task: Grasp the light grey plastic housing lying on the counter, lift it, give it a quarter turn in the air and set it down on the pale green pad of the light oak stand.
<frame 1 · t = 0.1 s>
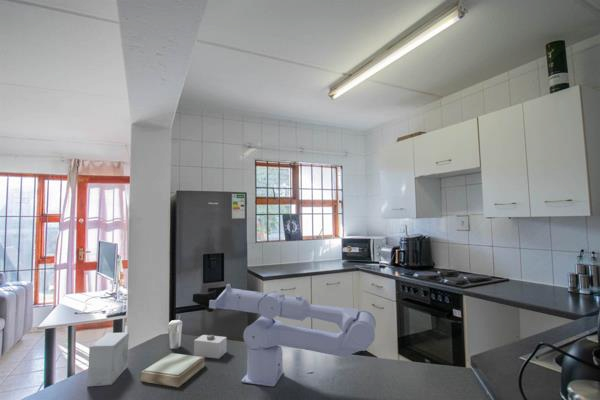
hand: (201, 294, 91), 22 cm above the countertop, tool horizontal, fingers open, 7 cm apart
skincare box: (109, 377, 85), on the countertop
housing: (210, 354, 99), on the countertop
stand: (174, 373, 87), on the countertop
milkshake: (175, 347, 105), on the countertop
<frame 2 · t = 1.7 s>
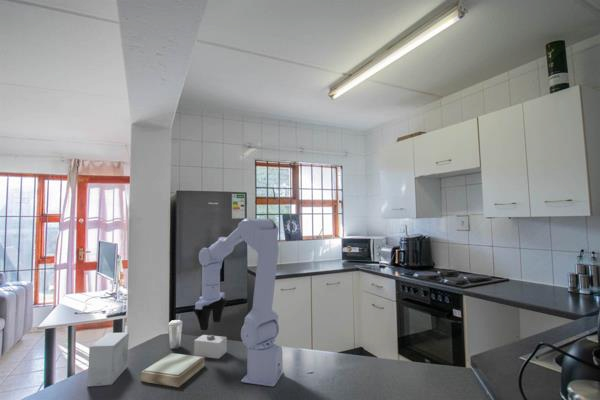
hand: (210, 325, 100), 9 cm above the countertop, tool pointing down, fingers open, 7 cm apart
nothing on the countertop moved.
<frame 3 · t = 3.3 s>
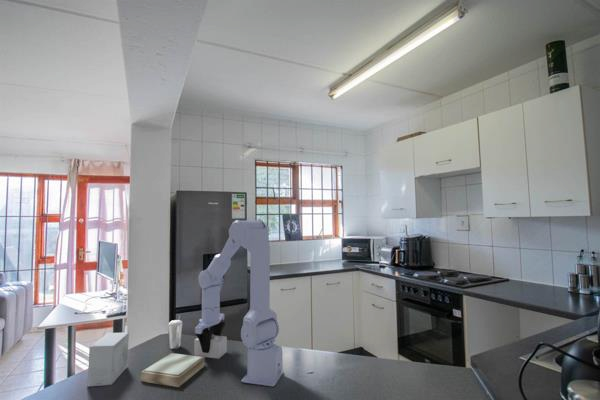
hand: (210, 348, 100), 2 cm above the countertop, tool pointing down, fingers closed on housing, 5 cm apart
housing: (210, 353, 99), on the countertop, touching gripper
everything else where it was.
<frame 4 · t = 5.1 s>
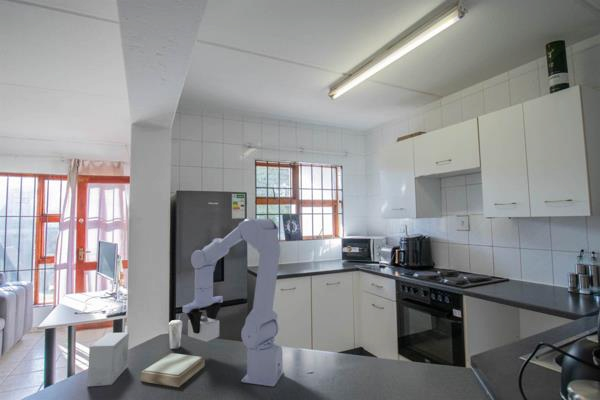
hand: (203, 330, 97), 9 cm above the countertop, tool pointing down, fingers closed on housing, 5 cm apart
housing: (203, 336, 97), point 7 cm above the countertop, touching gripper
everything else where it was.
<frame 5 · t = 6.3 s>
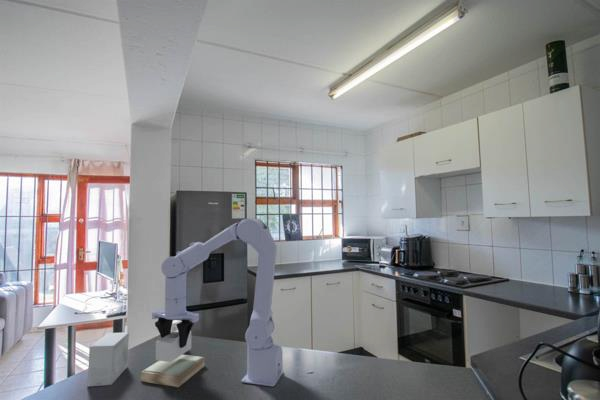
hand: (174, 345, 87), 8 cm above the countertop, tool pointing down, fingers closed on housing, 5 cm apart
housing: (174, 353, 87), point 5 cm above the countertop, touching gripper
everything else where it was.
when the fingers open (6 cm above the countertop, at t = 7.1 s): housing stays where it is, resting on stand.
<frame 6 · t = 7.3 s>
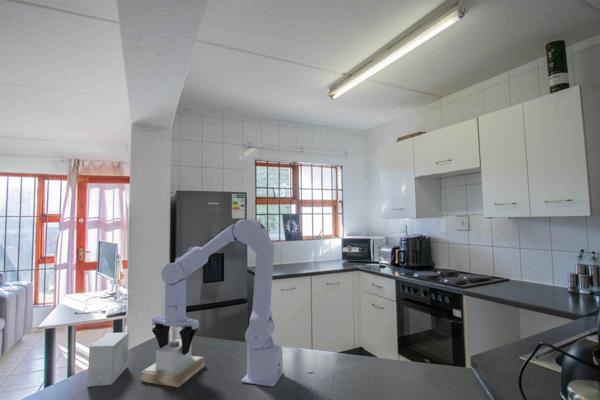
hand: (174, 352, 87), 6 cm above the countertop, tool pointing down, fingers open, 7 cm apart
housing: (174, 363, 87), point 3 cm above the countertop, touching stand
everything else where it was.
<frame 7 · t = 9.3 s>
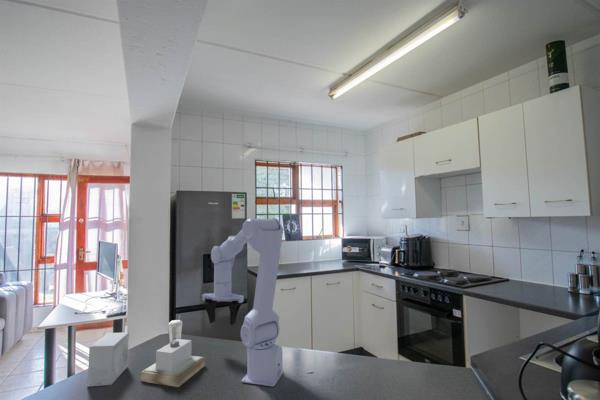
hand: (222, 323, 101), 9 cm above the countertop, tool pointing down, fingers open, 7 cm apart
nothing on the countertop moved.
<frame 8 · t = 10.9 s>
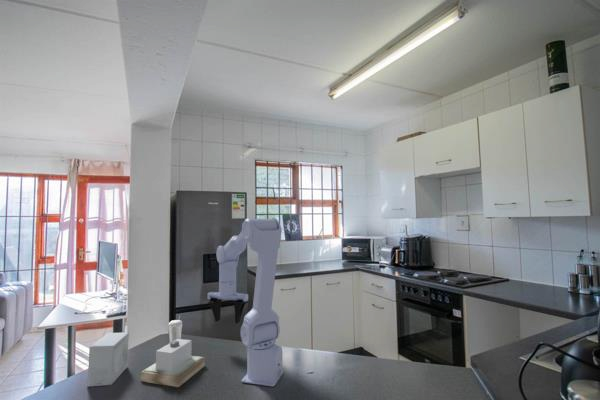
hand: (227, 321, 103), 9 cm above the countertop, tool pointing down, fingers open, 7 cm apart
nothing on the countertop moved.
at the end: housing inside the target area on the stand (0.1 cm from its centre), point 2.8 cm above the stand's base; housing tilted 0°; the gripper is holding nothing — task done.
